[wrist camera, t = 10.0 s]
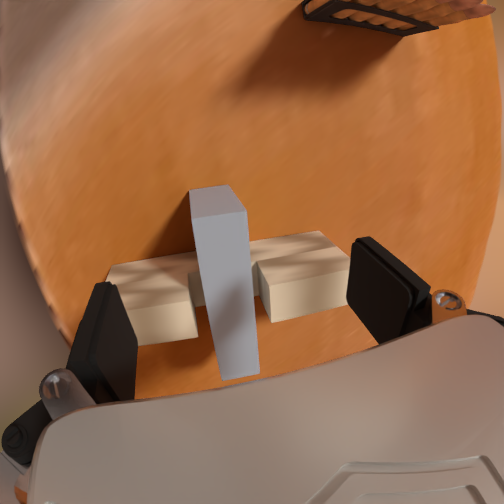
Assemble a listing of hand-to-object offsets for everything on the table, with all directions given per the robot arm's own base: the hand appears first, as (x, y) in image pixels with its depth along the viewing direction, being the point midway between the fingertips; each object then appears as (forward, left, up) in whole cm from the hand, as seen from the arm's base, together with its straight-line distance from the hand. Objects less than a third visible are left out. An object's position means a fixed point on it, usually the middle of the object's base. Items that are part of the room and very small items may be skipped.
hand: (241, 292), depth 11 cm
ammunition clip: (-16, +14, -13) cm, 25 cm away
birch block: (+5, 0, -13) cm, 14 cm away
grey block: (+5, 0, -13) cm, 14 cm away
